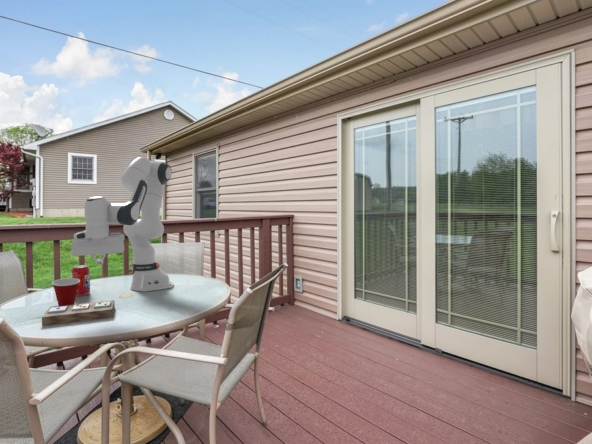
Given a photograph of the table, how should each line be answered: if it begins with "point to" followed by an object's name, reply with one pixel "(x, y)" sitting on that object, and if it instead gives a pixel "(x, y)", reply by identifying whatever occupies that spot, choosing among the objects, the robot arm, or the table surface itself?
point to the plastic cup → (66, 290)
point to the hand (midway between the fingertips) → (99, 264)
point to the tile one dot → (57, 309)
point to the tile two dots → (103, 304)
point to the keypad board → (78, 314)
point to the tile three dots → (81, 307)
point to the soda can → (82, 279)
